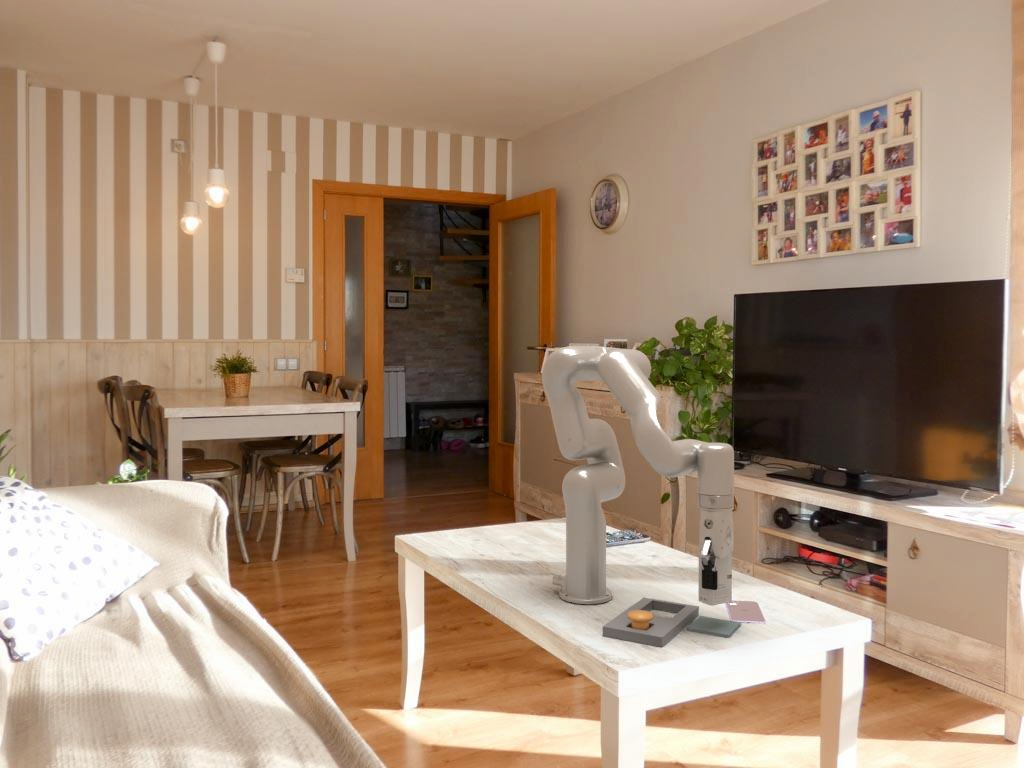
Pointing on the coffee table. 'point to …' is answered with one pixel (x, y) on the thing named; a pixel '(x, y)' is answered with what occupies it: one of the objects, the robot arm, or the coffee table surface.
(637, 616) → the plunger
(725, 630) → the mat
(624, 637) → the housing
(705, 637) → the coffee table surface
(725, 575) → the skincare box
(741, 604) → the mobile phone
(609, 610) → the coffee table surface
